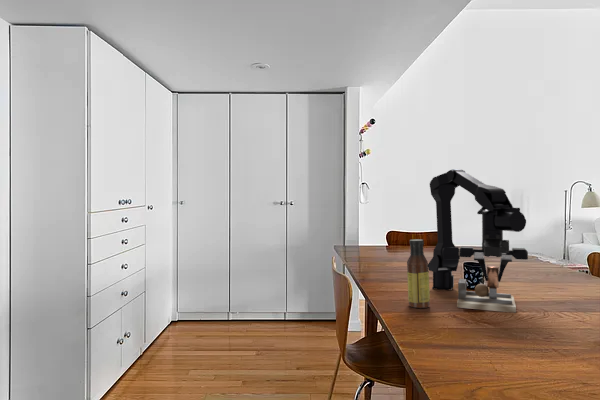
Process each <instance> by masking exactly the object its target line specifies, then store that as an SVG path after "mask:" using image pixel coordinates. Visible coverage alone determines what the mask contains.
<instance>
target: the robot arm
mask: <svg viewBox="0 0 600 400" xmlns="http://www.w3.org/2000/svg"><path fill="white" fill-rule="evenodd" d="M458 187H461V188H462V189H463V190H466V191H467V192H468V193H471V195H472V196H473V197H474V200H475V202H476V203H478V204H479V206H481V208H480V209H478V211H477V215H481V223H482V224H481V236H482V238H481V248H474V246H463V245H462V246H461V247H458V246H457V247H456V245H455V244H454V242H453V225H452V200H453V198H454V196H455V194H456V189H457V188H458ZM429 189H430V195H431V197H432V198H433V200H434V201H435V209H436V213H435V214H436V232H437V234H436V235H437V243H436V244H435V246H434V249H433V254H432V258H431V259H430V261H429V262H428V271H429V272H432V287H431V289H432V290H443V291H444V290H445V291H452V290H453V288H454V287H455V285H454V284H455V281H454V280H455V276H454V275H453V272H457V270H458V266H459V263H460V260H461V258H471V257H472V256H473V260H474V261H477V263H478V264H479V266H480V268H481V271H482V273H483V278H484V280H485V282H487V265H486V260H485V257H486V258H487V257H488V258H489V257H496V258H500V262H499V283H500V282H501V280H502V277H503V274H504V273H505V272H504V271H505V269H506V267H507V265H508V264H509V263H512V262H513V259H512V258H514V259H515V260H522V261H523V260H525V261H526V260H528V258H529V254H528V250H527V249H526V248H525V247H523V248H522V247H512V248H511V250H510V240H509V239H503V238H504V231H505V232H516V233H519V232H522V231H523V230H524V229H525V228H526V225H527V218H526V217H525V215H524V213H522V212H521V208H520V207H514V206H513V204H512V202H511V201H510V199H509V197H508V195H507V194H506V191H505V189H504V188H502V187H498V186H493V185H489V184H485V183H484V182H482V181H481V180H479V179H478V178H475V177H474V176H472V175H470V174H469V173H467V172H466V171H465V170H463V169H460V168H459V169H458V168H457V169H450V170H448V171H447V172H445V173H442V174H439V175H437V176H433V177H432V179H431V180H430V181H429Z"/></svg>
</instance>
